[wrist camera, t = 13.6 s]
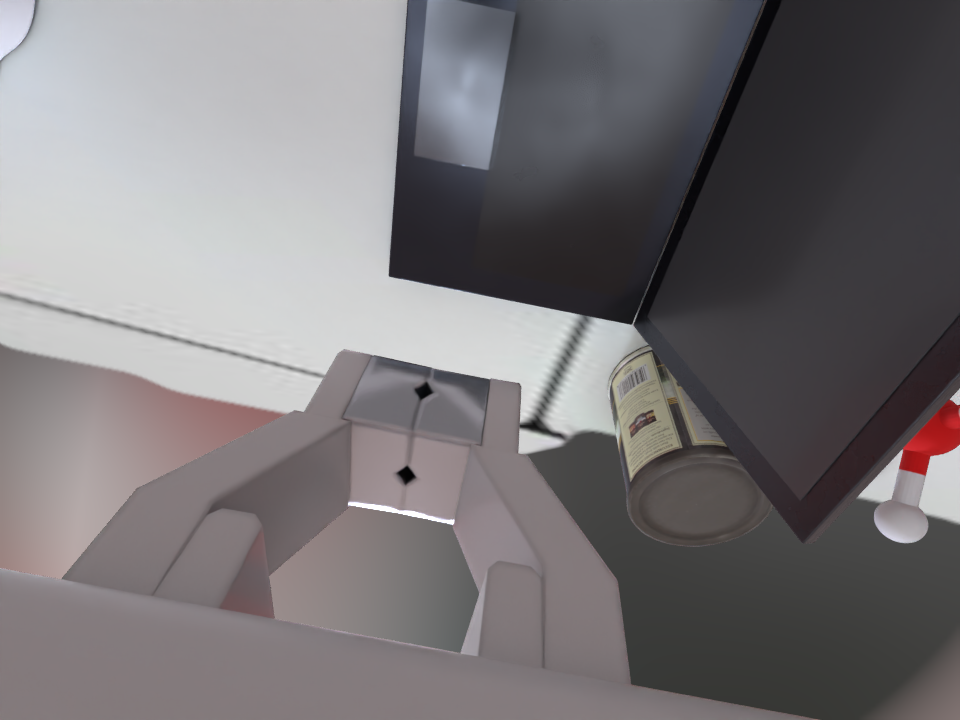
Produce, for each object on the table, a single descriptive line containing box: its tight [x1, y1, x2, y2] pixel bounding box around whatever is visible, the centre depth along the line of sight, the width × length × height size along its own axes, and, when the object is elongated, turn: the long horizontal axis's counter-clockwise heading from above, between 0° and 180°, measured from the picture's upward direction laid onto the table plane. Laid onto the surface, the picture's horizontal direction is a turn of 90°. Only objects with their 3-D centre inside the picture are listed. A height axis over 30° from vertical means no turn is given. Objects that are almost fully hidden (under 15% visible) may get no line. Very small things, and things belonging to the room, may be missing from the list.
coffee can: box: [608, 346, 773, 546], centre depth 43 cm, size 10×10×14 cm
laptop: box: [389, 0, 764, 324], centre depth 35 cm, size 21×30×2 cm
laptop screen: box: [634, 0, 960, 544], centre depth 26 cm, size 21×30×1 cm
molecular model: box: [874, 400, 960, 543], centre depth 43 cm, size 18×6×10 cm, turn 170°
